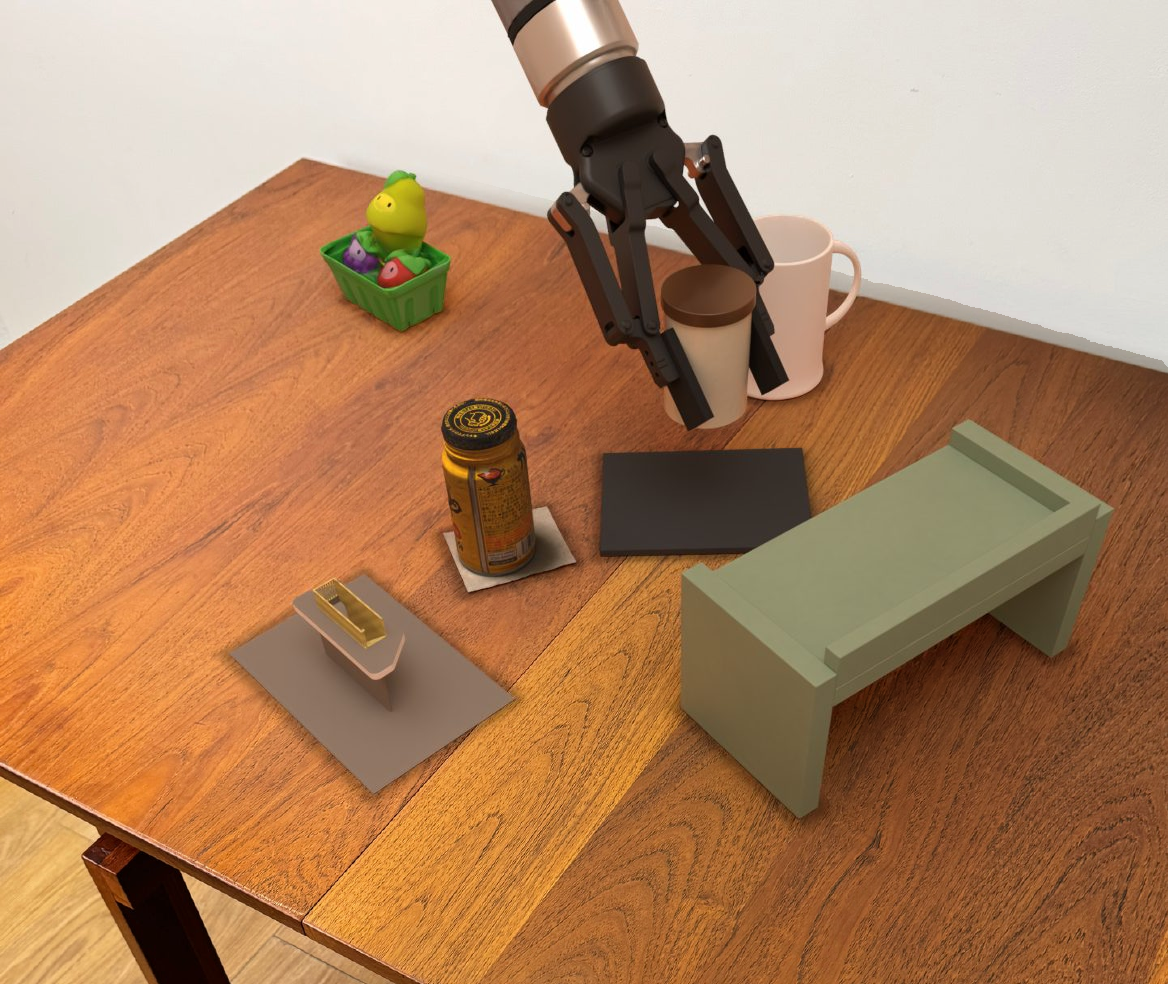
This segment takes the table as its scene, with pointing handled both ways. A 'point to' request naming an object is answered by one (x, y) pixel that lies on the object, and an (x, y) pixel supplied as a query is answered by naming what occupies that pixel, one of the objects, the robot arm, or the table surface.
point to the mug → (800, 297)
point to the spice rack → (879, 597)
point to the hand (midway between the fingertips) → (738, 405)
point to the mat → (700, 500)
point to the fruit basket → (392, 258)
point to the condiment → (494, 499)
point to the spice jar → (712, 335)
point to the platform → (369, 679)
